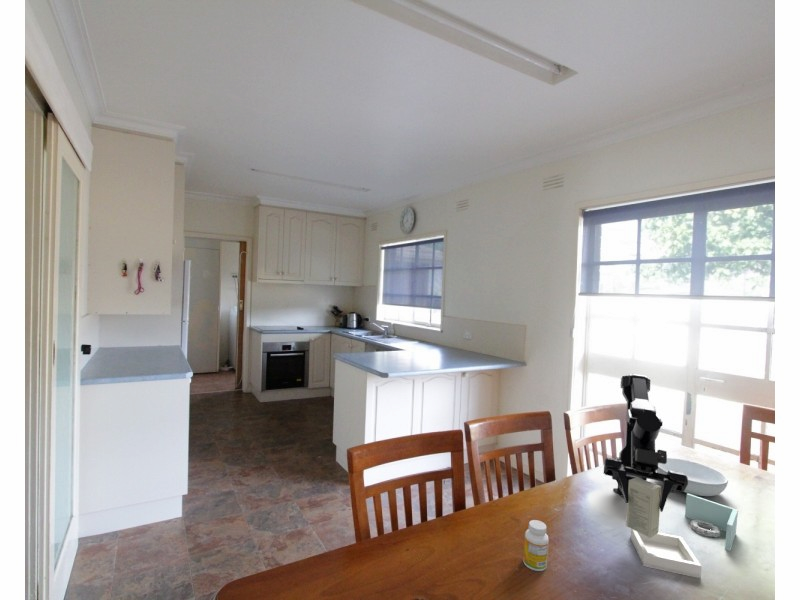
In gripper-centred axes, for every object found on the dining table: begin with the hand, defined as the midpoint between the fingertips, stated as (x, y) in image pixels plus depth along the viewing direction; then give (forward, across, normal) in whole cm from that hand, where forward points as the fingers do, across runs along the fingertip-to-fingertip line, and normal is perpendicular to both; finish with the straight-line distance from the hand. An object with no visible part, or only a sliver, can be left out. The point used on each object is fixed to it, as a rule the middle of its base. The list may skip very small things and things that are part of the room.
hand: (644, 506), depth 105 cm
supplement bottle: (+21, -24, -4) cm, 32 cm away
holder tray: (+7, +5, +10) cm, 14 cm away
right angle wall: (-6, +18, +25) cm, 32 cm away
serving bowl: (-27, +19, +46) cm, 57 cm away
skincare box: (+4, 0, +6) cm, 7 cm away
